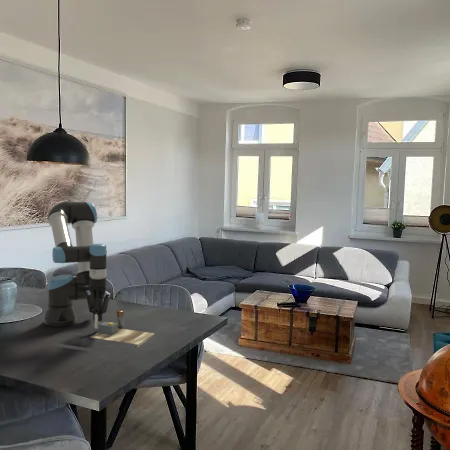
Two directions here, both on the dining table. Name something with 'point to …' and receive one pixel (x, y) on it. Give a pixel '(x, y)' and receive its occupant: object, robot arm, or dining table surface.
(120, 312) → the metal cylinder
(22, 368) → the dining table surface
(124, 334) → the board
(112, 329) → the block
